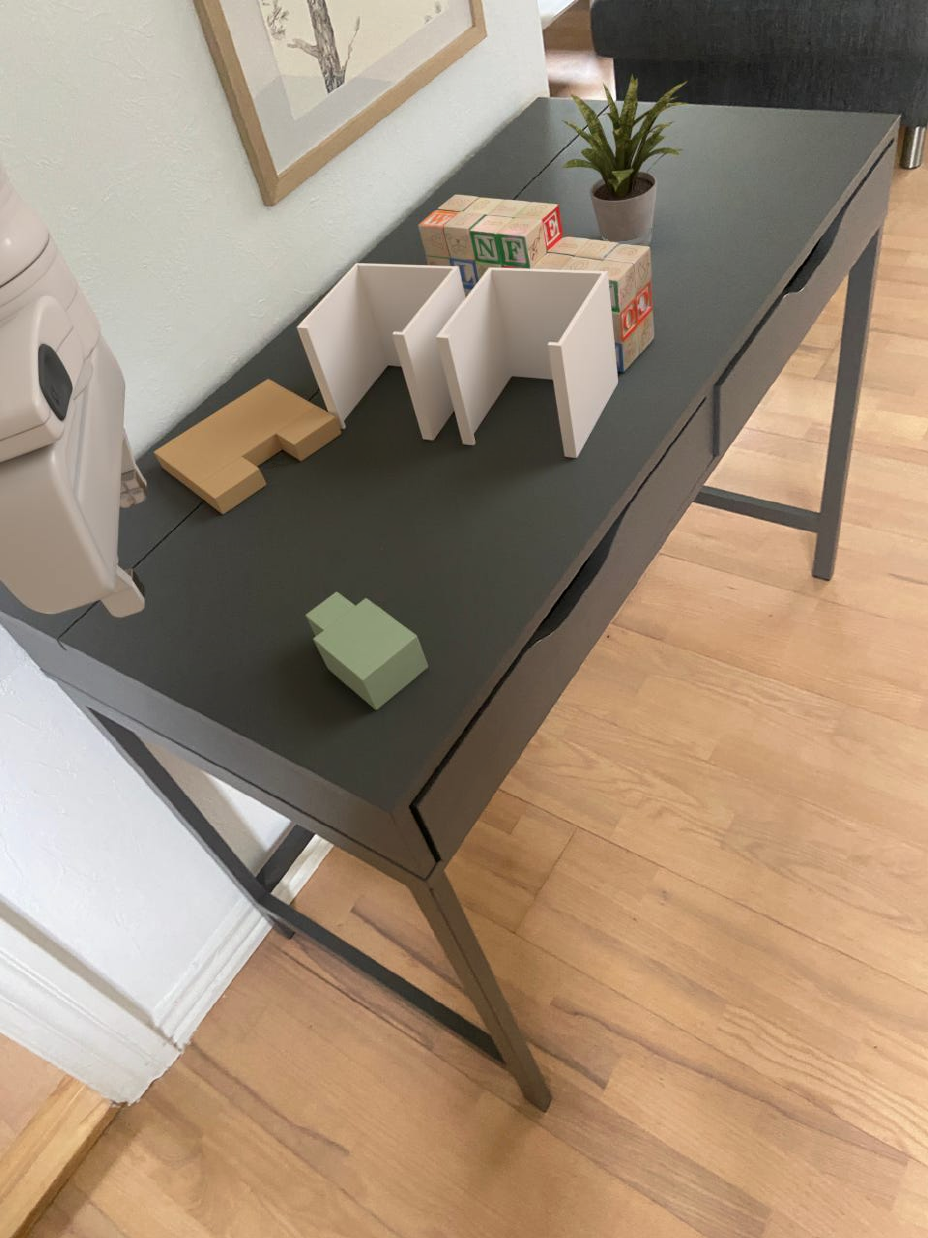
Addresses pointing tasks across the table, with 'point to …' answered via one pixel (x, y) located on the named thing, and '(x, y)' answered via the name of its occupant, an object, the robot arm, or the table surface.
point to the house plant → (623, 165)
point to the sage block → (366, 648)
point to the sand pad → (245, 443)
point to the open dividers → (466, 342)
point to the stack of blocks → (542, 257)
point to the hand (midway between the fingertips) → (133, 548)
